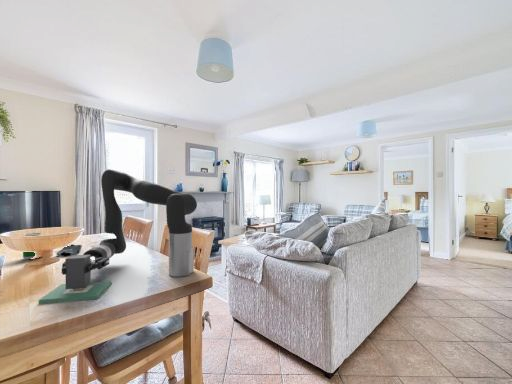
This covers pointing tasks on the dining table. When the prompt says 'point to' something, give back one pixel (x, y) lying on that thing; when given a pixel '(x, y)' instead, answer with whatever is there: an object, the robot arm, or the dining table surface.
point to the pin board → (76, 293)
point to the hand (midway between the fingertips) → (74, 270)
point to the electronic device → (70, 250)
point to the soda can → (30, 254)
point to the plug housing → (77, 271)
